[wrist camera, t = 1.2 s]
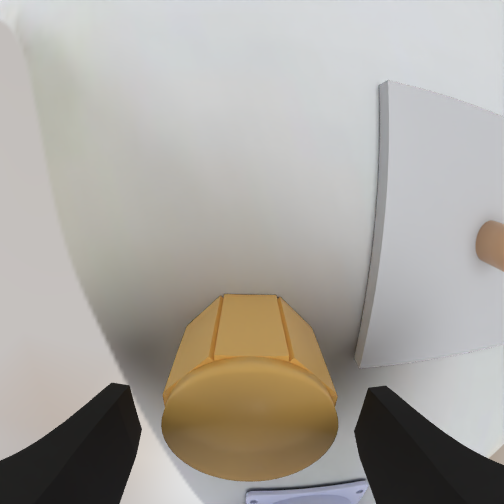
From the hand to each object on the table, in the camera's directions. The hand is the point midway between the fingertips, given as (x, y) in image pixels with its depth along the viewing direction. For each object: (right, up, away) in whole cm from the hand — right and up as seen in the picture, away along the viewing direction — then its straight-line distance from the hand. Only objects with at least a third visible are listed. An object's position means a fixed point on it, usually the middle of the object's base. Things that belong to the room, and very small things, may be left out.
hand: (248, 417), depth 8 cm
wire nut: (0, +1, +4) cm, 4 cm away
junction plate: (+10, +6, +3) cm, 12 cm away
